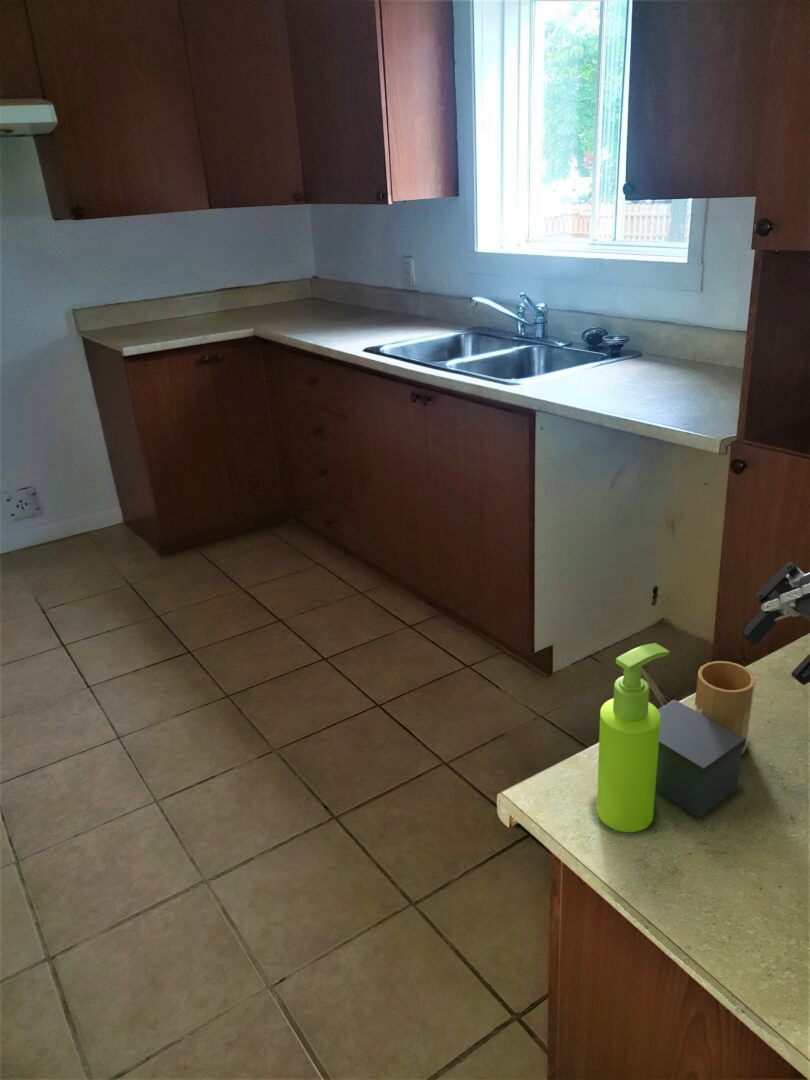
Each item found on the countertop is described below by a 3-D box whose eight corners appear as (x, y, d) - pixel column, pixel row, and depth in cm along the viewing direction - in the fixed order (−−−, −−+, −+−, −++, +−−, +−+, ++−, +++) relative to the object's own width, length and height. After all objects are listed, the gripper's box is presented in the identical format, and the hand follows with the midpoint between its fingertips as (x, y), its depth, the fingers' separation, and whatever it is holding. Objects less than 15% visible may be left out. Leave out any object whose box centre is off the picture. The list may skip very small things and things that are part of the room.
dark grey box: (739, 789, 89) (746, 738, 86) (698, 820, 86) (704, 769, 83) (670, 747, 96) (674, 698, 93) (629, 774, 93) (632, 725, 90)
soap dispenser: (672, 813, 87) (686, 656, 78) (623, 840, 84) (632, 681, 76) (632, 781, 92) (641, 630, 83) (585, 806, 89) (589, 652, 80)
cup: (756, 744, 96) (766, 677, 92) (725, 766, 93) (733, 698, 89) (712, 719, 100) (719, 655, 96) (681, 740, 97) (687, 674, 93)
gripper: (810, 511, 95) (715, 614, 98) (909, 562, 83) (797, 680, 85) (842, 543, 99) (749, 643, 101) (941, 597, 86) (833, 709, 89)
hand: (771, 659), depth 93 cm, fingers open, 8 cm apart
